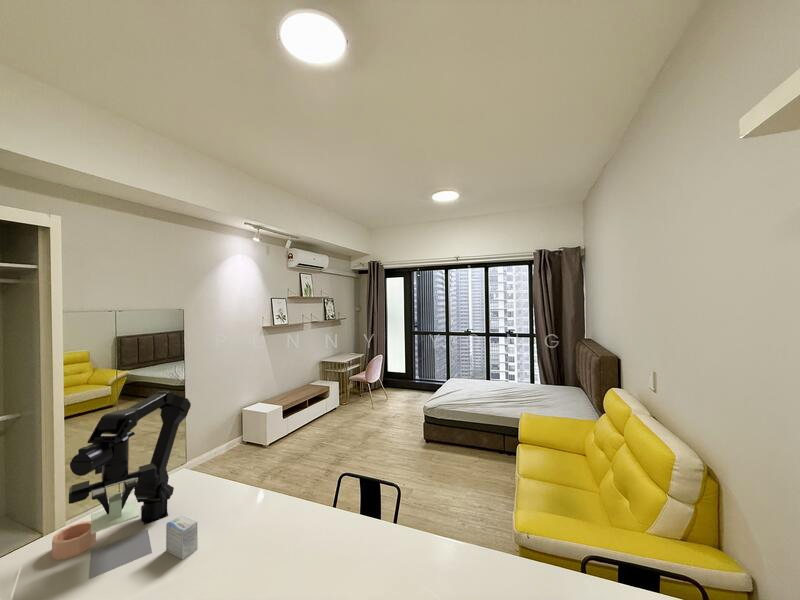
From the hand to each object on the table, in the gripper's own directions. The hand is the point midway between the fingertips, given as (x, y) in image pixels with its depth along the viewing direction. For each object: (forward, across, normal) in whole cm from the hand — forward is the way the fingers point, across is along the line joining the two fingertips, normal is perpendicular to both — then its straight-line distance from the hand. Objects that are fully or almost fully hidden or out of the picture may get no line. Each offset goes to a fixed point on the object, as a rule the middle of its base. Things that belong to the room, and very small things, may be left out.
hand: (115, 511), depth 92 cm
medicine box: (+12, -14, +13) cm, 23 cm away
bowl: (+12, +8, -10) cm, 18 cm away
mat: (+12, -1, +2) cm, 12 cm away
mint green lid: (+2, 0, 0) cm, 2 cm away
